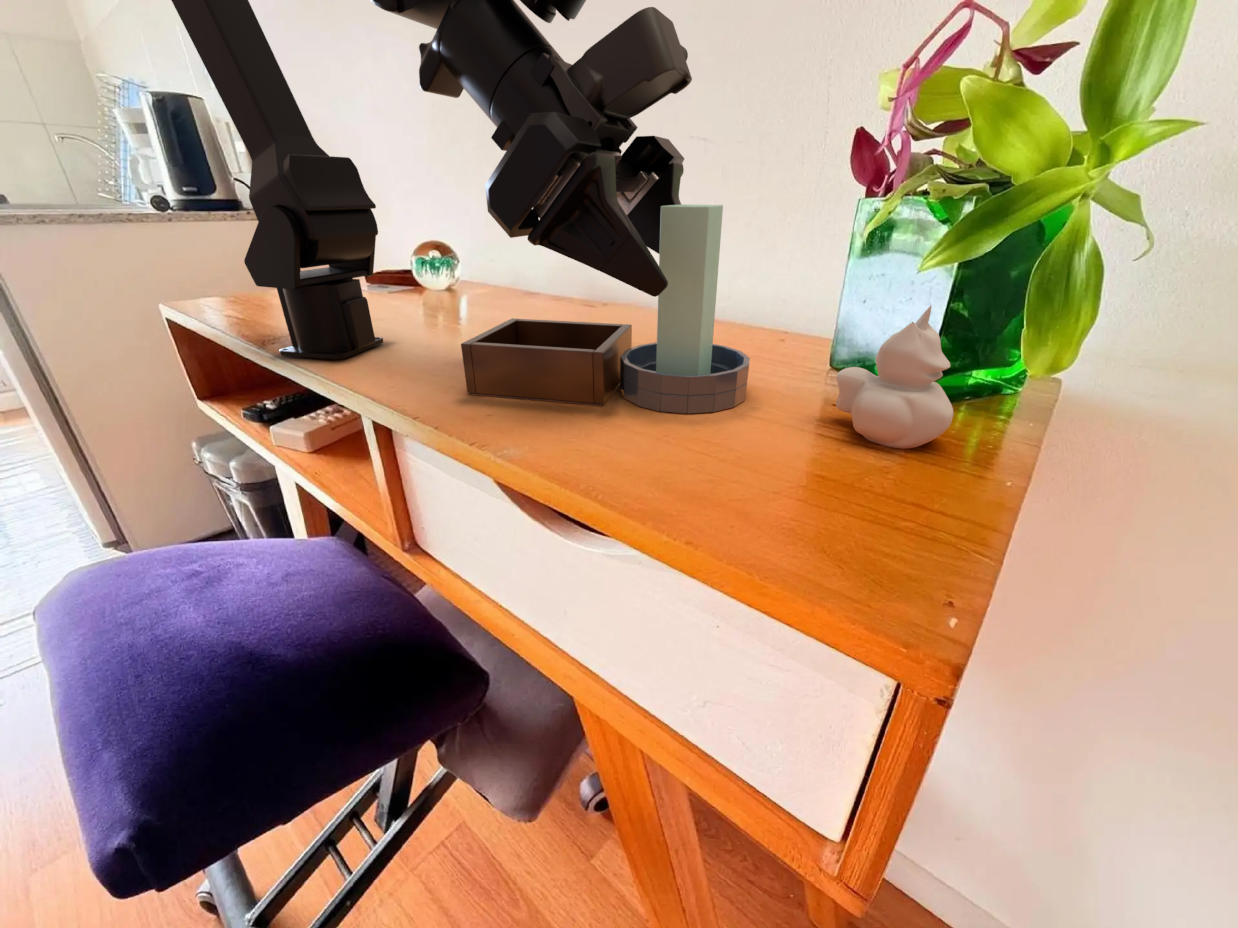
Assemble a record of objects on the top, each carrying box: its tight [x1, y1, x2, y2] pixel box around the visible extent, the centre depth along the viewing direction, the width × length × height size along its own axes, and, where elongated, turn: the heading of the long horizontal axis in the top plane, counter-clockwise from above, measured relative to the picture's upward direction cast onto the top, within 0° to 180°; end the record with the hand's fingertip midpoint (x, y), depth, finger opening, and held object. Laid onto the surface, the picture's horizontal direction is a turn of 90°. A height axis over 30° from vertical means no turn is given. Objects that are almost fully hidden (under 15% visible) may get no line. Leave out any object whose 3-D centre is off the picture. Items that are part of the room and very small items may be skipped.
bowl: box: [619, 341, 751, 415], centre depth 38 cm, size 9×9×3 cm
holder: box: [460, 317, 633, 407], centre depth 40 cm, size 10×8×4 cm
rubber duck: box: [835, 305, 954, 450], centre depth 31 cm, size 5×7×8 cm
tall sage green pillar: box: [656, 204, 724, 375], centre depth 36 cm, size 3×4×12 cm
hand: (685, 280), depth 36 cm, fingers open, 9 cm apart
